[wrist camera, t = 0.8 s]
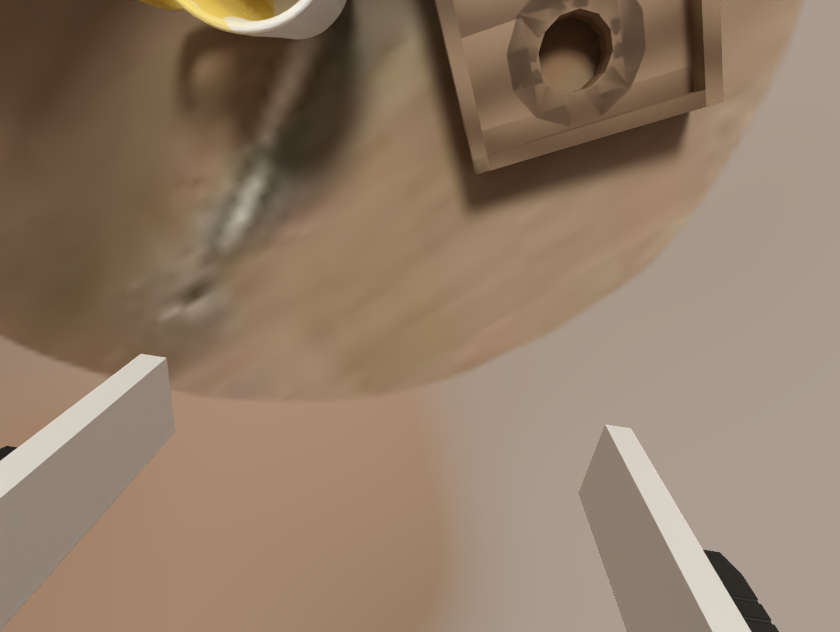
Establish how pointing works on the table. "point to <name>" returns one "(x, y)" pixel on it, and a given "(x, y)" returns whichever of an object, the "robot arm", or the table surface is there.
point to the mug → (261, 15)
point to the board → (601, 96)
